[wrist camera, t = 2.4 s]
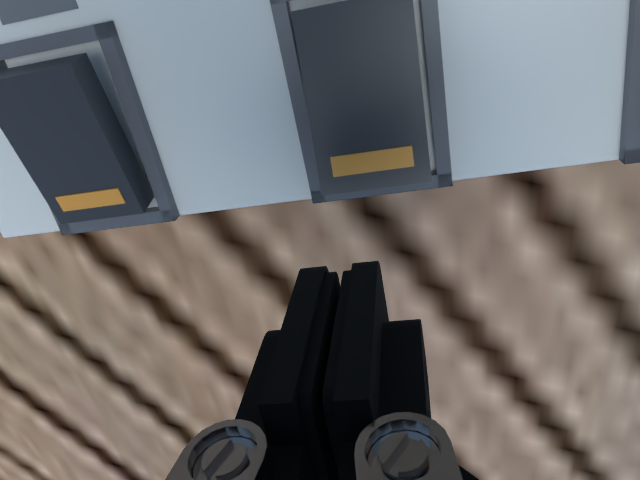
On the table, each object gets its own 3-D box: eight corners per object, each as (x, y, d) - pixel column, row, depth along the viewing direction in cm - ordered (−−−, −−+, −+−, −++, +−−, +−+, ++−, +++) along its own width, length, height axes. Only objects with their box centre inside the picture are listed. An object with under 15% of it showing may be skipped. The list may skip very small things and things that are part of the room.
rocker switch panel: (-223, -20, 27) (-332, -16, 23) (938, -332, 17) (1106, -421, 13) (-79, 223, 33) (-145, 260, 29) (832, 97, 23) (923, 126, 19)
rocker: (-7, 71, 22) (-29, 84, 21) (86, 52, 21) (69, 65, 20) (73, 207, 26) (59, 225, 25) (154, 196, 25) (143, 214, 24)
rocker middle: (298, 14, 21) (290, 11, 19) (411, -8, 20) (411, -14, 18) (326, 188, 23) (321, 196, 21) (430, 174, 22) (432, 181, 20)
